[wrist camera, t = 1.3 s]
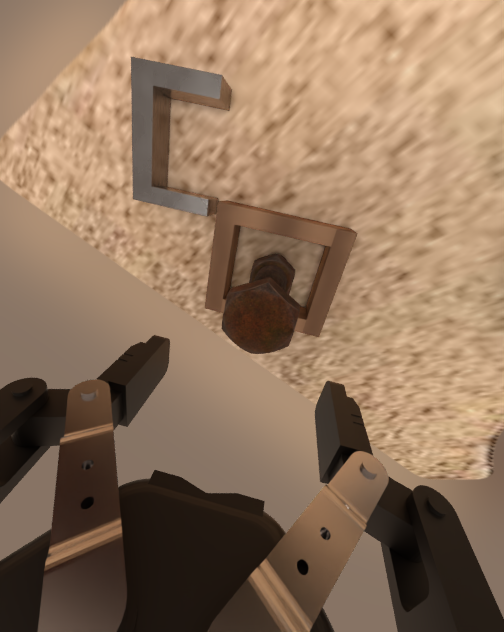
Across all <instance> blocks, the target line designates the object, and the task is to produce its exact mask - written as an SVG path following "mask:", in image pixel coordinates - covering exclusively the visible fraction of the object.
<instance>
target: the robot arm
mask: <svg viewBox="0 0 504 632" xmlns="http://www.w3.org/2000/svg"><path fill="white" fill-rule="evenodd" d="M169 348H170V340H169V339H168V338H164V337H160V336H156V335H154V336H152V337H151V338H150V339H149V340H148V341H147V342H146V343H143V342H140V343H138V344H136V345H133V346H131V347H130V348H129V349H128V350H127V351H126V352H125V353H124V355H122V356H120V357H119V359H118V360H116V361H115V362H114V363H113V364H112V365H111V366H110V367H109V368H108V369H107V370H106V371H104V372H103V374H101V375H100V376H99V377H98V378H97V379H95V380H87V381H83V382H81V383H79V384H77V385H75V386H74V387H73V388H72V389H47V385H46V382H45V381H44V380H42V379H39V378H24V379H20V380H17V381H14V382H12V383H10V384H8V385H6V386H5V387H4V388H2V389H1V390H0V503H1V502H2V501H3V500H4V499H5V497H6V496H7V495H8V494H9V493H10V492H11V491H12V489H13V488H14V487H15V486H16V485H17V484H18V482H19V481H20V480H21V479H22V478H23V477H24V476H25V475H26V474H27V472H28V471H29V470H30V469H31V468H32V467H33V466H34V465H35V463H36V462H37V461H38V460H39V459H40V457H42V455H43V454H44V453H45V452H46V451H47V450H48V449H49V448H50V446H56V445H60V447H59V457H58V467H57V477H56V487H55V497H54V507H53V517H52V528H51V529H50V530H49V531H47V532H45V533H44V534H42V535H41V536H39V537H37V538H36V539H34V540H33V541H31V542H30V543H28V544H26V545H25V546H23V547H22V548H20V549H18V550H17V551H15V552H14V553H12V554H10V555H9V556H7V557H6V558H4V559H2V560H1V561H0V632H334V630H333V628H332V626H331V623H330V621H329V619H328V617H327V615H326V613H325V611H324V609H323V606H324V604H325V602H326V600H327V598H328V596H329V595H330V593H331V591H332V589H333V587H334V585H335V583H336V582H337V580H338V578H339V576H340V574H341V573H342V570H343V569H344V567H345V565H346V563H347V562H348V560H349V558H350V556H351V554H352V552H353V551H354V549H355V547H356V545H357V543H358V542H359V540H360V538H361V536H362V534H363V532H364V531H365V532H366V533H368V534H369V535H371V536H372V537H374V538H375V539H377V540H378V541H380V542H381V546H382V552H383V557H384V562H385V567H386V573H387V578H388V583H389V588H390V593H391V599H392V604H393V609H394V614H395V619H396V625H397V629H398V632H504V619H503V617H502V614H501V612H500V610H499V607H498V605H497V603H496V601H495V599H494V596H493V594H492V592H491V590H490V587H489V585H488V583H487V581H486V578H485V576H484V574H483V572H482V570H481V567H480V565H479V563H478V560H477V558H476V556H475V554H474V552H473V549H472V547H471V545H470V543H469V540H468V538H467V536H466V534H465V531H464V529H463V527H462V525H461V522H460V520H459V518H458V516H457V514H456V512H455V510H454V508H453V507H452V505H451V504H450V503H449V502H448V501H447V499H445V498H444V496H442V495H441V494H440V493H439V492H437V491H436V490H434V489H432V488H430V487H428V486H423V485H420V486H417V487H416V488H415V489H414V490H413V491H412V490H411V489H409V488H407V487H405V486H404V485H402V484H400V483H398V482H396V481H394V480H393V479H392V478H390V477H389V476H388V473H387V471H386V469H385V467H384V466H383V464H382V463H381V462H380V461H379V460H378V459H377V458H375V457H374V456H373V453H372V450H371V447H370V443H369V439H368V436H367V432H366V429H365V427H364V422H363V419H362V415H361V412H360V408H359V406H358V405H357V404H356V402H355V401H354V399H353V398H350V397H347V395H346V391H345V387H344V385H342V384H339V383H335V382H331V381H327V382H326V384H325V386H324V388H323V391H322V393H321V395H320V397H319V400H318V402H317V405H316V410H315V423H316V435H317V448H318V460H319V473H320V482H322V483H327V484H328V485H325V486H324V487H323V488H322V489H321V491H320V492H319V493H318V494H317V496H316V497H315V498H314V499H313V501H312V502H311V503H310V504H309V506H308V507H307V508H306V509H305V510H304V512H303V513H302V514H301V515H300V517H299V518H298V519H297V520H296V521H295V523H294V524H293V525H292V526H291V528H290V529H289V530H288V531H287V533H285V531H284V530H283V529H282V528H281V526H280V525H279V524H278V523H277V522H276V521H275V520H274V519H273V518H272V517H271V516H269V515H268V514H267V513H265V512H264V511H263V510H264V501H262V500H258V499H254V498H251V497H248V496H244V495H241V494H237V493H220V494H219V493H212V494H211V493H205V492H204V491H202V490H200V489H199V488H197V487H196V486H194V485H192V484H191V483H189V482H188V481H186V480H184V479H183V478H181V477H178V476H175V475H171V474H167V473H164V472H160V471H157V470H154V472H153V474H152V476H151V478H150V479H142V480H136V481H133V482H129V483H126V484H124V485H122V486H120V487H118V477H117V466H116V453H115V441H114V429H115V428H116V427H117V426H118V424H119V425H123V426H126V427H128V425H129V424H130V422H131V421H132V419H133V418H134V417H135V415H136V414H137V413H138V411H139V410H140V408H141V407H142V406H143V404H144V403H145V401H146V400H147V399H148V397H149V396H150V395H151V393H152V392H153V390H154V389H155V387H156V386H157V385H158V383H159V382H160V381H161V379H162V378H163V376H164V375H165V373H166V371H167V368H168V363H169Z"/></svg>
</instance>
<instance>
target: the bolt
mask: <svg viewBox="0 0 504 632" xmlns="http://www.w3.org/2000/svg"><path fill="white" fill-rule="evenodd" d="M294 275H295V269H294V268H293V267H292V266H291V265H290V264H289V263H288V262H287V261H286V259H285V258H284V257H283V256H281V255H279V254H273V255H269V256H266V257H263V258H260V259H257V260H255V261H254V263H253V267H252V272H251V276H250V282H249V283H247V284H243V285H240V286H236V287H232V288H231V289H230V291H229V292H228V295H227V299H226V303H225V308H224V314H223V320H222V330H223V331H224V332H225V334H226V335H227V336H228V337H229V338H230V339H231V340H232V341H233V342H234V343H235V344H236V345H238V346H239V347H240V348H242V349H243V350H245V351H247V352H249V353H253V354H264V353H270V352H274V351H277V350H280V349H283V348H285V347H288V346H289V344H290V341H291V339H292V336H293V333H294V330H295V327H296V323H297V320H298V316H299V312H300V305H299V304H298V303H297V302H296V301H295V300H294V299H293V298H292V297H291V296H290V295H289V292H290V289H291V286H292V282H293V279H294Z"/></svg>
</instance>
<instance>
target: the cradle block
mask: <svg viewBox="0 0 504 632" xmlns="http://www.w3.org/2000/svg"><path fill="white" fill-rule="evenodd" d="M131 85H132V158H133V199H135V200H139V201H143V202H148V203H152V204H156V205H160V206H165V207H169V208H173V209H178V210H182V211H186V212H191V213H195V214H199V215H203V216H209V215H213V214H216V212H217V204H218V198H213V197H209V196H205V195H200V194H196V193H191V192H187V191H183V190H178V189H174V188H170V187H167V177H168V153H169V128H170V104H171V99H176V100H181V101H186V102H191V103H195V104H200V105H205V106H210V107H215V108H219V109H224V110H229V108H230V100H231V92H232V89H231V88H230V86H229V85H228V83H227V82H226V80H225V79H224V77H223V76H222V75H219V74H214V73H209V72H204V71H199V70H194V69H189V68H184V67H179V66H175V65H170V64H165V63H160V62H155V61H150V60H145V59H140V58H135V57H131Z"/></svg>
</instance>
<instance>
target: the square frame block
mask: <svg viewBox="0 0 504 632" xmlns="http://www.w3.org/2000/svg"><path fill="white" fill-rule="evenodd" d="M240 226H244V227H248V228H252V229H257V230H261V231H265V232H270V233H274V234H278V235H282V236H287V237H291V238H295V239H300V240H304V241H308V242H312V243H317V244H321V245H325V246H326V247H325V250H324V253H323V256H322V259H321V262H320V265H319V268H318V271H317V274H316V278H315V281H314V284H313V287H312V290H311V293H310V296H309V299H308V302H307V305H306V308H304V307H300V312H299V316H298V320H297V323H296V327H295V330H294V331H297V332H301V333H305V334H309V335H313V336H317V337H319V335H320V332H321V330H322V327H323V324H324V322H325V319H326V316H327V314H328V311H329V308H330V306H331V303H332V300H333V298H334V295H335V292H336V290H337V287H338V284H339V282H340V279H341V276H342V274H343V271H344V268H345V266H346V263H347V260H348V257H349V255H350V252H351V249H352V247H353V244H354V241H355V239H356V236H357V233H356V232H354V231H353V230H352V229H349V228H344V227H340V226H336V225H331V224H327V223H323V222H318V221H314V220H309V219H305V218H301V217H296V216H292V215H288V214H283V213H279V212H275V211H270V210H266V209H261V208H257V207H253V206H248V205H244V204H240V203H235V202H231V201H220V202H218V207H217V215H216V223H215V231H214V239H213V247H212V255H211V262H210V270H209V278H208V286H207V294H206V302H205V308H206V309H210V310H214V311H218V312H222V313H224V308H225V303H226V299H227V295H228V292H229V291H230V285H231V279H232V273H233V267H234V261H235V255H236V249H237V243H238V237H239V232H240Z"/></svg>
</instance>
